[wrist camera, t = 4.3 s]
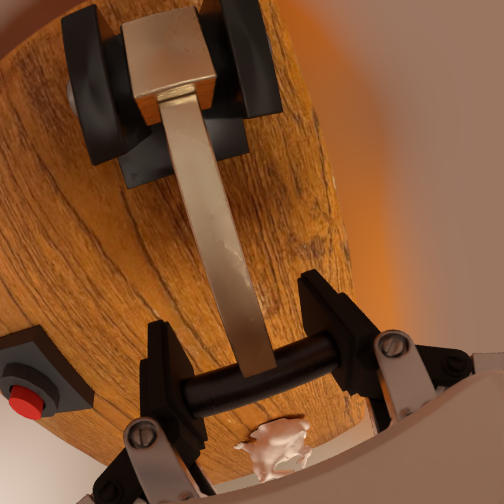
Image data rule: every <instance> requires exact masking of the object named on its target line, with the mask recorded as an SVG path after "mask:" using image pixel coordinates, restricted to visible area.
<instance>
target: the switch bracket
mask: <svg viewBox="0 0 504 504" xmlns="http://www.w3.org/2000/svg"><path fill="white" fill-rule="evenodd" d="M198 14H199V17H200V20H201V23H202V26H203V29H204V33H205V36H206V39H207V42H208V45H209V48H210V51H211V54H212V57H213V61H214V64H215V67H216V70H217V73H218V77H217V82H216V87H215V92H214V98H213V103H212V107H211V108H209V109H205V110H202V113H203V116H204V120H205V123H206V127H207V130H208V134H209V137H210V140H211V144H212V147H213V151H214V154H215V158H216V161H220V160H223V159H227V158H231V157H235V156H239V155H243V154H247V153H249V147H248V143H247V138H246V133H245V129H244V124H243V120H242V119H251V118H256V117H261V116H266V115H272V114H277V113H282V112H283V108H282V103H281V98H280V93H279V88H278V83H277V78H276V73H275V69H274V64H273V60H272V48H271V43H270V39H269V37H268V35H267V33H266V30H265V26H264V22H263V18H262V14H261V10H260V6H259V2H258V0H203V3H202V6H201V9H200V12H199V13H198ZM61 27H62V35H63V43H64V50H65V56H66V62H67V68H68V73H69V79H70V80H69V81H68V83H67V96H68V101H69V104H70V107H71V109H72V111H73V113H74V114H75V116H76V117H77V118H78V119H79V122H80V126H81V130H82V133H83V137H84V140H85V144H86V147H87V151H88V154H89V157H90V160H91V163H92V165H93V166H97V165H99V164H102V163H104V162H107V161H109V160H112V159H114V158H118V161H119V165H120V168H121V171H122V174H123V177H124V180H125V183H126V186H127V189H131V188H134V187H137V186H140V185H142V184H145V183H148V182H151V181H154V180H157V179H160V178H163V177H166V176H169V175H172V174H175V172H174V168H173V164H172V161H171V157H170V153H169V149H168V146H167V142H166V138H165V134H164V130H163V126H162V122H159V123H156V124H152V125H149V126H147V125H146V124H145V122H144V120H143V118H142V116H141V114H140V112H139V111H138V109H137V107H136V105H135V103H134V101H133V99H132V95H131V90H130V85H129V80H128V74H127V69H126V63H125V57H124V50H123V44H122V37H121V34H118V35H115V34H114V33H113V31H112V29H111V28H110V26H109V25H108V23H107V21H106V20H105V18H104V17H103V15H102V14H101V12H100V10H99V9H98V7H97V6H96V4H92V5H90V6H87V7H85V8H83V9H80V10H78V11H76V12H74V13H71V14H69V15H67V16H65V17H63V18H62V19H61Z"/></svg>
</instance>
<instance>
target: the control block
mask: <svg viewBox="0 0 504 504" xmlns="http://www.w3.org/2000/svg"><path fill="white" fill-rule="evenodd" d="M14 385H20V386H24V387H27V388H29V389H30V390H32V391H34V392H35V393H37V394H38V395H39V396H40V397H41V398H42V399H43V401H44V405H43V410H42V415H41V417H52V416H53V415H54V414H55V413H60V412H69V411H77V410H84V409H91V408H93V402H94V391H93V390H92V389H91V388H90V387H89V386H88V385H87V384H86V383H85V381H84V380H83V379H82V378H81V377H80V376H79V375H78V374H77V372H76V371H75V370H74V369H73V368H72V367H71V365H70V364H69V363H68V362H67V361H66V359H65V358H64V357H63V356H62V354H61V353H60V352H59V351H58V349H57V348H56V347H55V345H54V344H53V343H52V341H51V340H50V339H49V337H48V336H47V335H46V333H45V332H44V331H43V329H42V328H41V326H40V325H39V326H35V327H32V328H29V329H26V330H23V331H19V332H16V333H13V334H10V335H6V336H3V337H0V389H1V391H2V393H3V395H4V396H5V397H6V398H7V399H8V400H9V398H10V394H11V391H12V388H13V386H14Z"/></svg>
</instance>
